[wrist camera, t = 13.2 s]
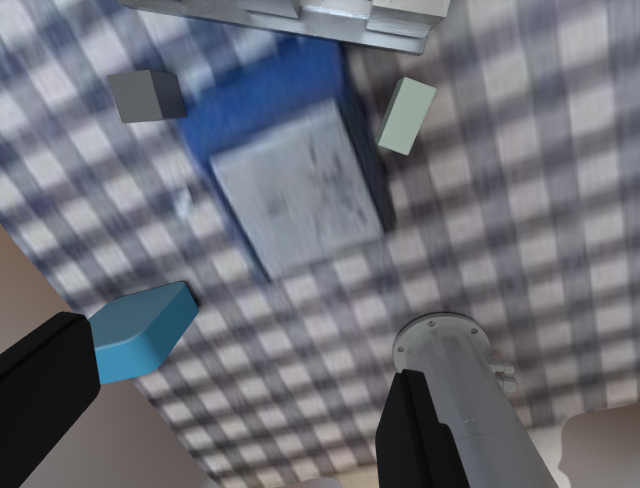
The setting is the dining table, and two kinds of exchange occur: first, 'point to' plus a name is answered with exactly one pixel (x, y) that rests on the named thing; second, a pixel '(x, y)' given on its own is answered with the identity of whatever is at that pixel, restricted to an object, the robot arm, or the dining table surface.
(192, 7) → the rail base
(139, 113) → the block
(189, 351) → the dining table surface
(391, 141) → the block
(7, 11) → the dining table surface
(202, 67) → the dining table surface
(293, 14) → the block
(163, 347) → the blue flat block
